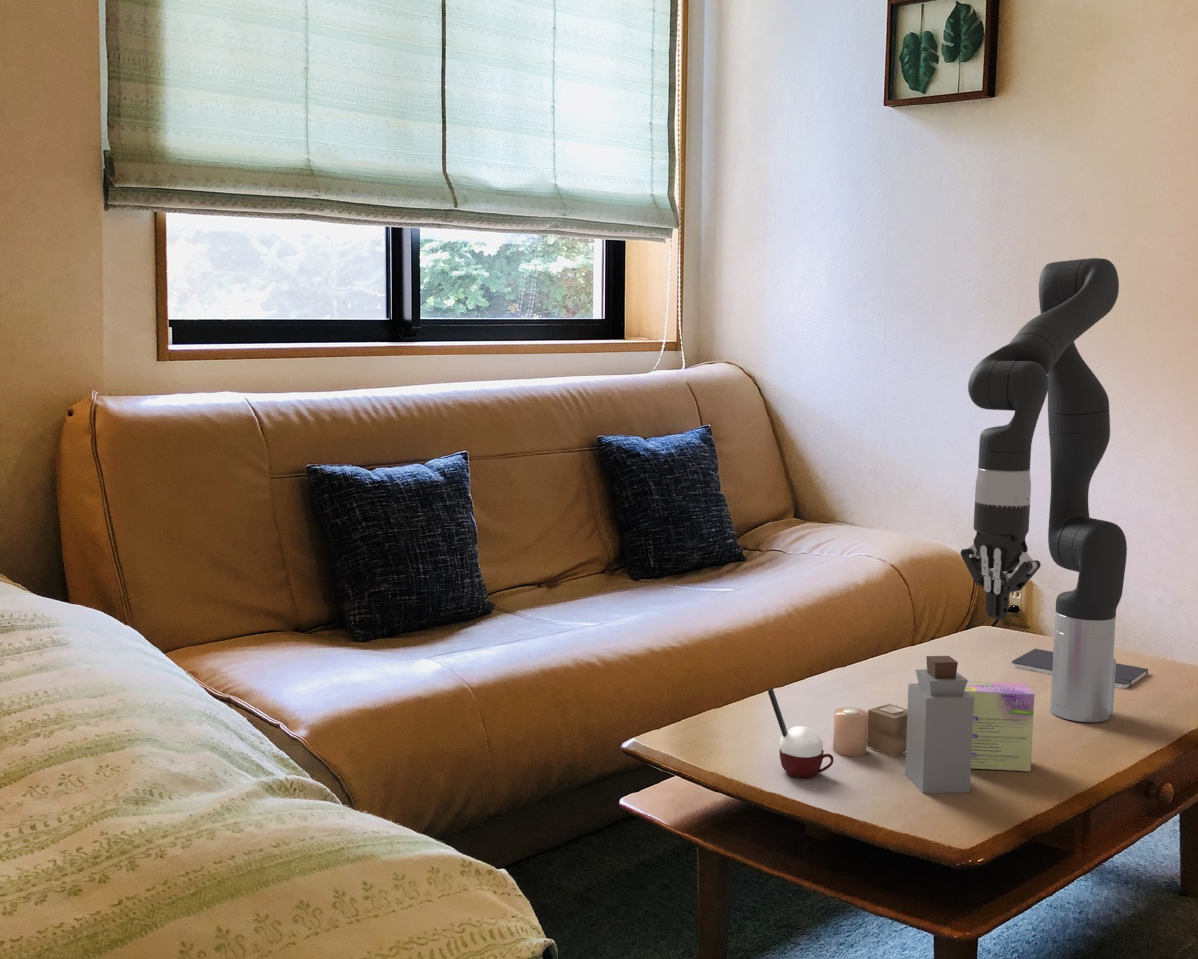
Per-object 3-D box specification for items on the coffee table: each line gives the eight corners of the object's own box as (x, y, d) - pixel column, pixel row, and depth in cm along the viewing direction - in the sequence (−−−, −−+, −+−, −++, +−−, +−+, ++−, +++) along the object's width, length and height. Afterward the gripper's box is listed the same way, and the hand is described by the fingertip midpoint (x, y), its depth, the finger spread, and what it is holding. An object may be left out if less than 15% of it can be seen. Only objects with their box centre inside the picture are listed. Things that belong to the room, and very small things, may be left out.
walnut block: (887, 740, 174) (889, 702, 174) (914, 750, 170) (915, 710, 170) (866, 747, 171) (868, 708, 171) (893, 757, 168) (894, 717, 167)
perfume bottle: (905, 774, 161) (909, 653, 158) (950, 773, 161) (955, 652, 159) (922, 793, 154) (927, 666, 152) (969, 791, 154) (975, 665, 152)
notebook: (1147, 676, 210) (1034, 656, 224) (1148, 668, 210) (1035, 648, 224) (1126, 692, 201) (1009, 669, 215) (1126, 684, 201) (1010, 661, 215)
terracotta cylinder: (850, 742, 173) (851, 704, 173) (873, 753, 169) (875, 713, 168) (825, 748, 171) (827, 709, 170) (848, 758, 167) (850, 718, 166)
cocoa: (836, 777, 160) (844, 697, 159) (813, 789, 156) (821, 706, 154) (780, 758, 167) (787, 680, 165) (757, 768, 162) (763, 688, 160)
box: (1020, 758, 167) (1024, 681, 166) (1031, 772, 162) (1035, 693, 160) (949, 755, 168) (952, 679, 167) (957, 769, 163) (961, 691, 161)
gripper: (1058, 504, 156) (1052, 624, 158) (984, 493, 168) (978, 605, 170) (1022, 507, 153) (1016, 631, 155) (948, 496, 164) (943, 611, 166)
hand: (996, 617), depth 162 cm, fingers closed
